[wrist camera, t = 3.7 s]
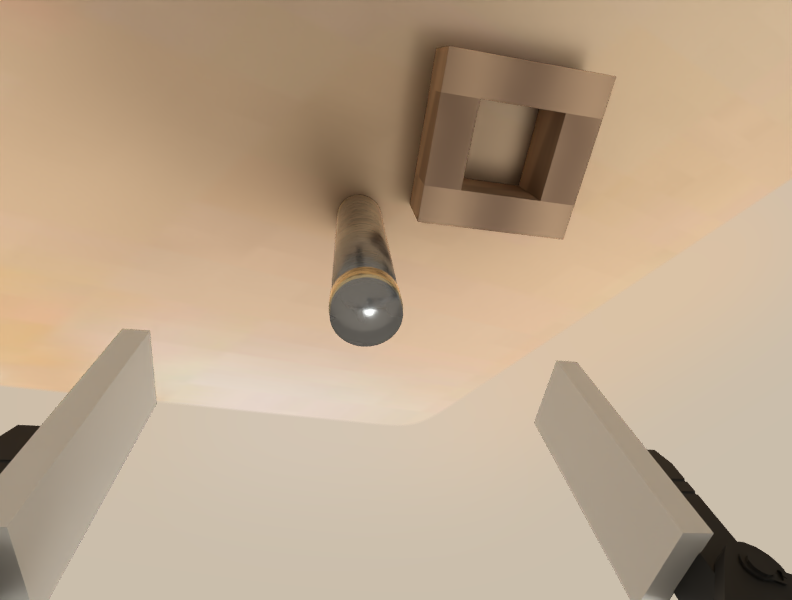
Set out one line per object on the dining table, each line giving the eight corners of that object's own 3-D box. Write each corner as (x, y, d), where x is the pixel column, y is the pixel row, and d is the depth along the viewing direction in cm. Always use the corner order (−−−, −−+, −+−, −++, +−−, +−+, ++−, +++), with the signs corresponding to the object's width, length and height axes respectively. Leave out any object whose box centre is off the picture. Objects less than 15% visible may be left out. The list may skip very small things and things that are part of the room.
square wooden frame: (583, 75, 29) (616, 76, 25) (539, 220, 33) (562, 239, 29) (436, 48, 27) (449, 45, 24) (409, 204, 31) (417, 221, 28)
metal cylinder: (384, 197, 31) (409, 285, 19) (378, 240, 32) (397, 350, 20) (338, 191, 30) (331, 277, 18) (334, 235, 32) (325, 344, 19)
